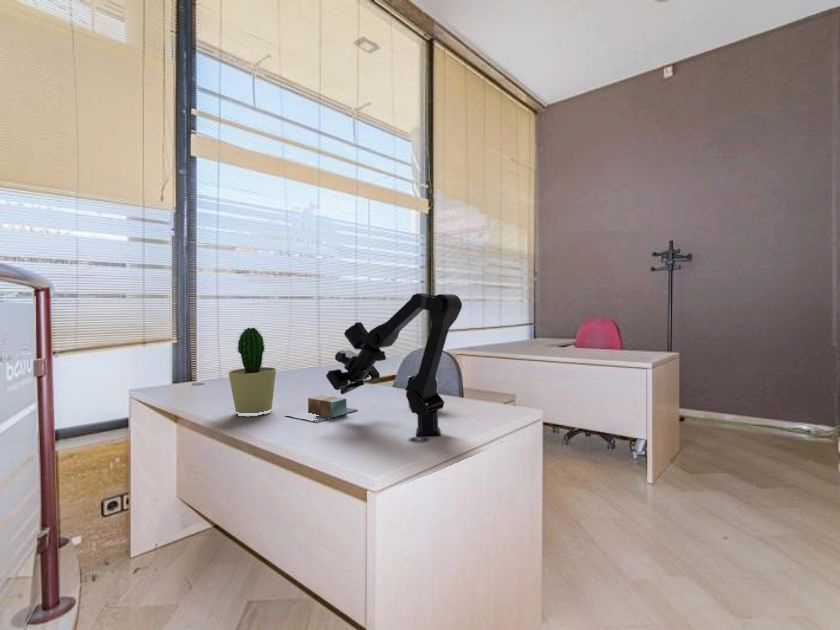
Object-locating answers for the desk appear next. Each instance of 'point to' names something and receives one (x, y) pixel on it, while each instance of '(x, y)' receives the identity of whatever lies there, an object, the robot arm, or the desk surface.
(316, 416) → the grey thin slab
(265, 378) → the potted cactus
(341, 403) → the walnut block
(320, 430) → the desk surface
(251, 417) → the desk surface
